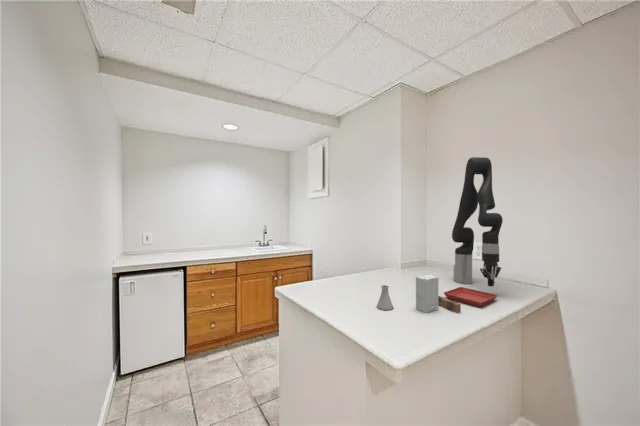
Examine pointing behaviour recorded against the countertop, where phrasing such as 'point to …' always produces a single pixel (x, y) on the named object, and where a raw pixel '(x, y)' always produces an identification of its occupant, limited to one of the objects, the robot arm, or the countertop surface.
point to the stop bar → (449, 304)
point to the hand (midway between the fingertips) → (490, 286)
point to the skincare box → (427, 293)
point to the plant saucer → (470, 296)
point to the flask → (384, 299)
